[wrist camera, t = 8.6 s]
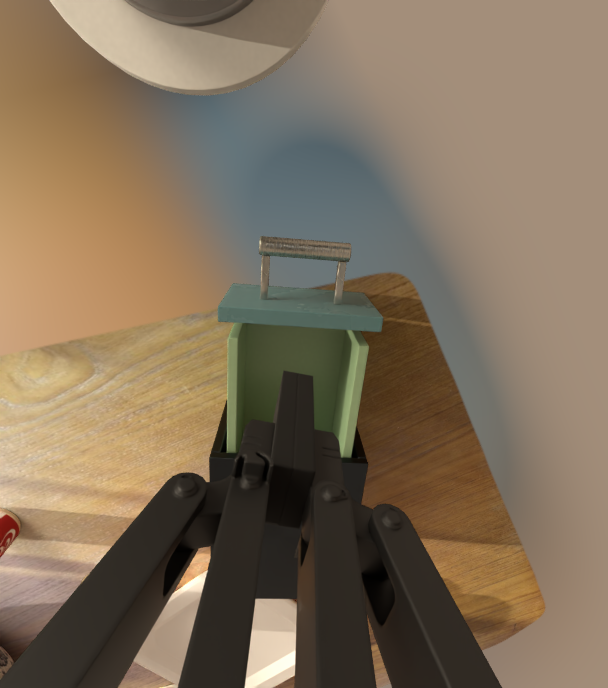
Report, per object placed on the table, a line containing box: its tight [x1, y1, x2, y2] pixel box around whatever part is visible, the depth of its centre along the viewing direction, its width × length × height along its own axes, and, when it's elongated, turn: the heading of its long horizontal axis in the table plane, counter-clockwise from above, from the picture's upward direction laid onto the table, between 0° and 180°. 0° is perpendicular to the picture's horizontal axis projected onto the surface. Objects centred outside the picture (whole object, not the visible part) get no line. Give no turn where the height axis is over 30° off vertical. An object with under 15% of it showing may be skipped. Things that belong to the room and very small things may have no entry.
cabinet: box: [209, 401, 368, 599], centre depth 39 cm, size 18×14×10 cm
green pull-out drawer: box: [218, 236, 383, 458], centre depth 33 cm, size 21×12×8 cm, turn 175°
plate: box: [133, 570, 297, 688], centre depth 53 cm, size 25×25×2 cm
